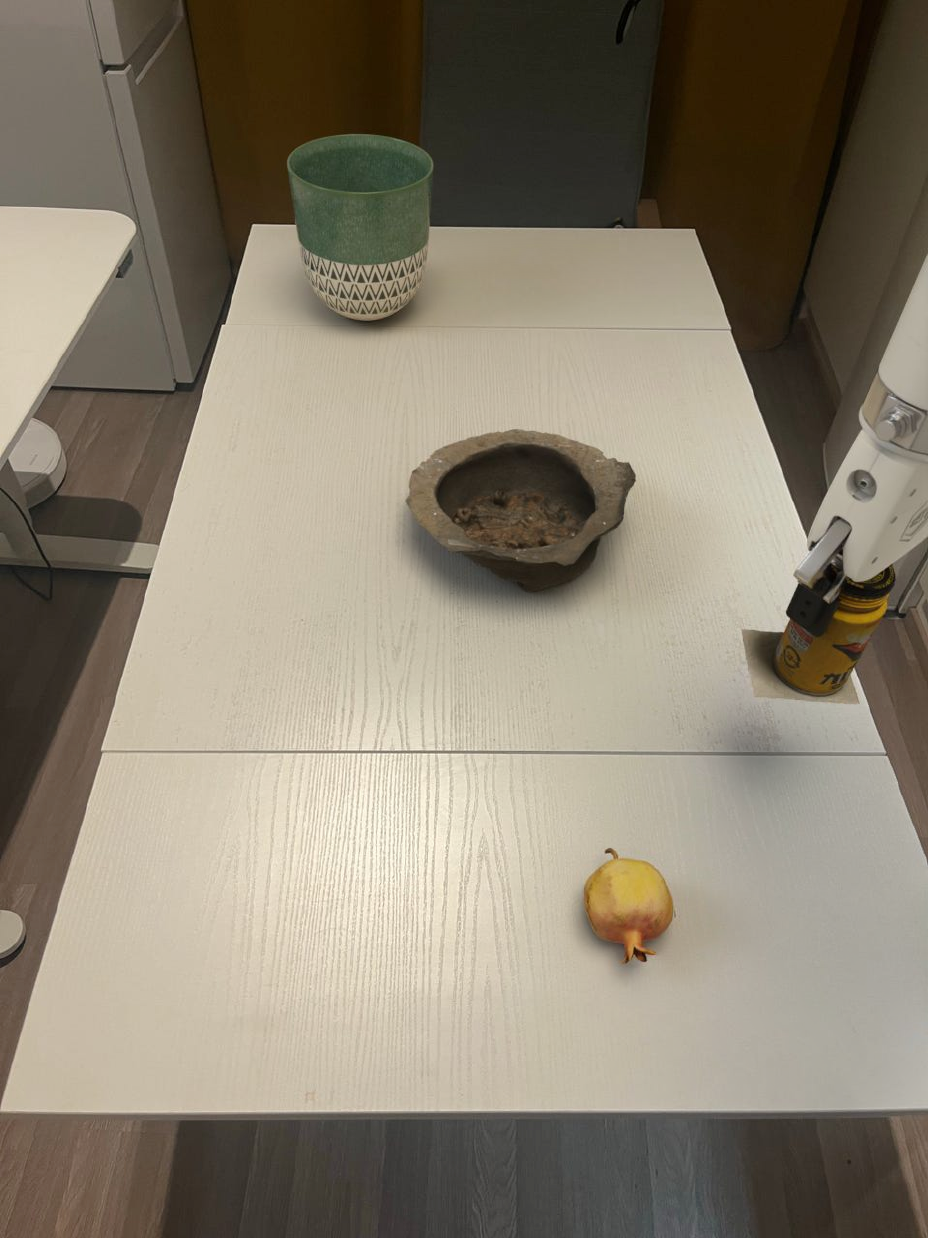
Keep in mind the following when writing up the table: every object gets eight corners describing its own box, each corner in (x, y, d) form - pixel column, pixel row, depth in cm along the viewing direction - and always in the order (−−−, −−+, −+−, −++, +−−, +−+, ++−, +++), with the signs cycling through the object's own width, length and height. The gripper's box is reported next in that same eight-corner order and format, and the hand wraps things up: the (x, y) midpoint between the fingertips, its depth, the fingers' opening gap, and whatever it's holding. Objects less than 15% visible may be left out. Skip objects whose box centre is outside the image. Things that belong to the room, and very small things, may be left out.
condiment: (859, 705, 72) (920, 602, 63) (754, 698, 72) (800, 594, 63) (838, 638, 77) (892, 533, 68) (740, 631, 77) (781, 526, 68)
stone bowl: (613, 632, 93) (622, 570, 86) (384, 599, 98) (375, 537, 91) (636, 483, 109) (644, 420, 102) (438, 460, 114) (433, 398, 107)
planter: (294, 283, 139) (279, 136, 124) (416, 273, 143) (416, 130, 127) (310, 350, 127) (296, 197, 111) (443, 338, 131) (448, 188, 115)
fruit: (571, 829, 72) (589, 951, 65) (657, 816, 71) (684, 939, 64) (581, 868, 77) (598, 985, 70) (661, 856, 76) (687, 974, 69)
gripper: (904, 491, 50) (802, 688, 64) (1051, 392, 58) (933, 586, 71) (795, 427, 54) (721, 626, 68) (947, 342, 62) (853, 535, 75)
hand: (830, 604), depth 69 cm, fingers closed on condiment, 6 cm apart
